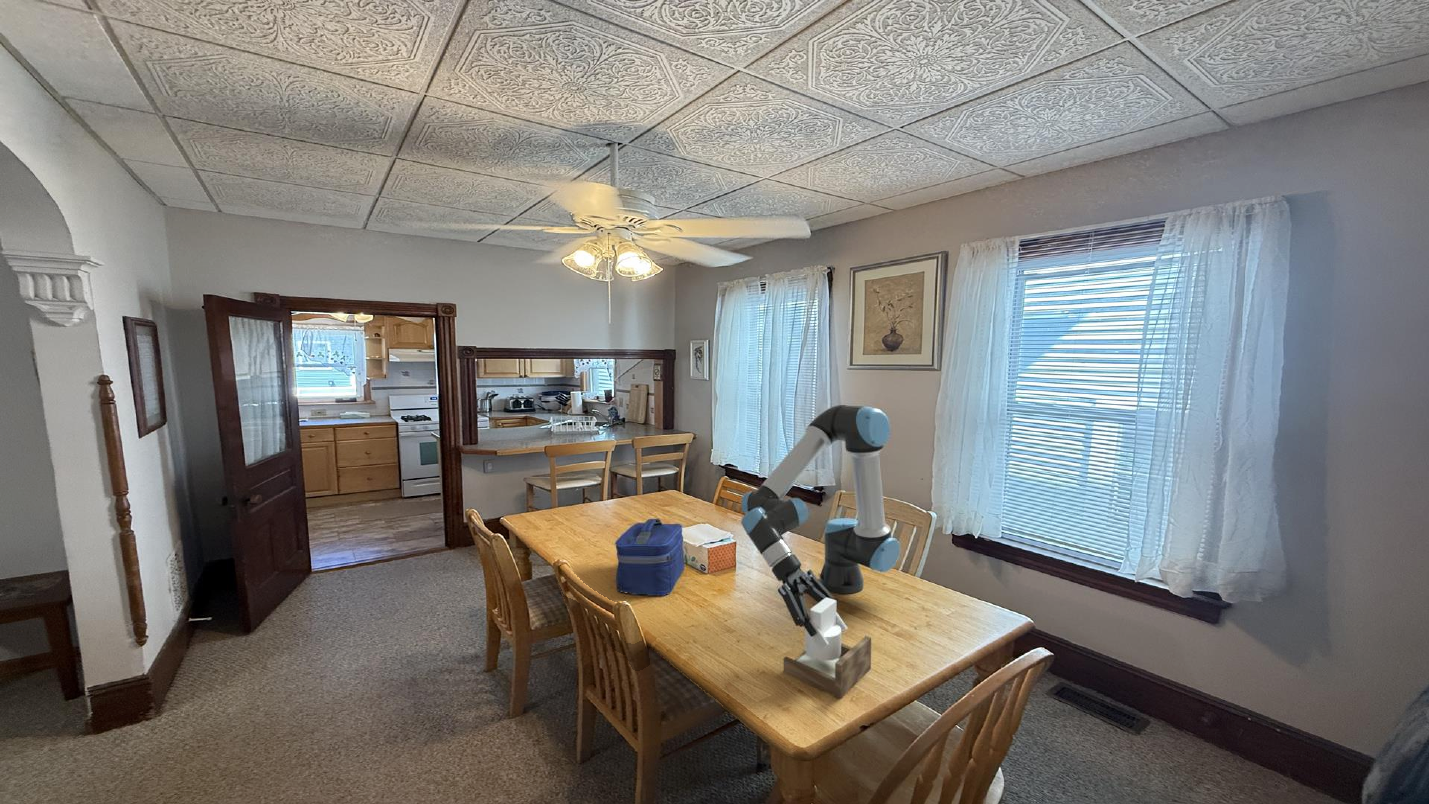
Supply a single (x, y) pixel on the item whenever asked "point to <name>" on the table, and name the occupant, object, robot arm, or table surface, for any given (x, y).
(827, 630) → the base with upright slab
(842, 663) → the walnut rest
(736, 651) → the table surface
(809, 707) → the table surface
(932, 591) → the table surface
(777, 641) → the table surface
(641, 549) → the lunch bag
